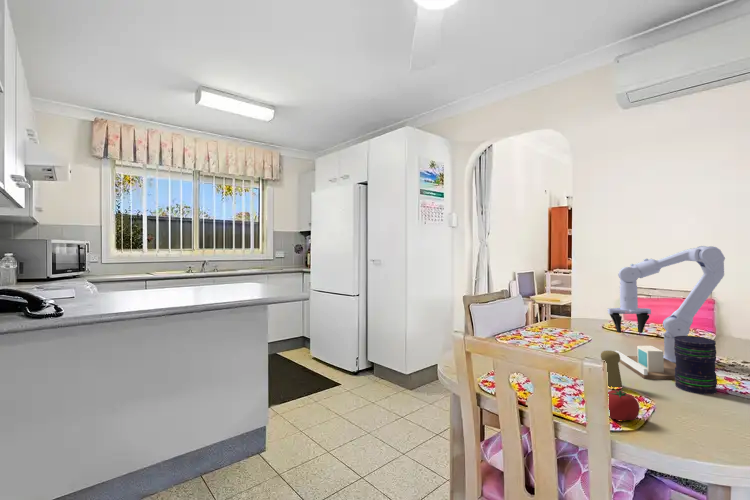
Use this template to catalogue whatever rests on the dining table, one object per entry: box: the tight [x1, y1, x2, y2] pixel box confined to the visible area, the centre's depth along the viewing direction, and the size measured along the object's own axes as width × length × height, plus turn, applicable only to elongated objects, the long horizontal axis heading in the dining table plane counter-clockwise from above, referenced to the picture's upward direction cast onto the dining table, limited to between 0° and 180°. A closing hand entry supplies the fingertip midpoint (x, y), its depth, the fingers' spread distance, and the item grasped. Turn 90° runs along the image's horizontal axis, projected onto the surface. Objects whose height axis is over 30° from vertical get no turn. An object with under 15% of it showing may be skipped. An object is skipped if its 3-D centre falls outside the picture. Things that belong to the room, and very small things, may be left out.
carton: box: [636, 345, 664, 372], centre depth 131 cm, size 5×7×7 cm
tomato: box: [608, 390, 640, 422], centre depth 98 cm, size 8×8×7 cm
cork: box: [600, 350, 623, 387], centre depth 119 cm, size 6×6×11 cm
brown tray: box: [614, 350, 676, 381], centre depth 134 cm, size 16×22×3 cm
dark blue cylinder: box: [674, 335, 718, 396], centre depth 115 cm, size 10×10×15 cm
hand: (629, 332), depth 149 cm, fingers open, 7 cm apart
